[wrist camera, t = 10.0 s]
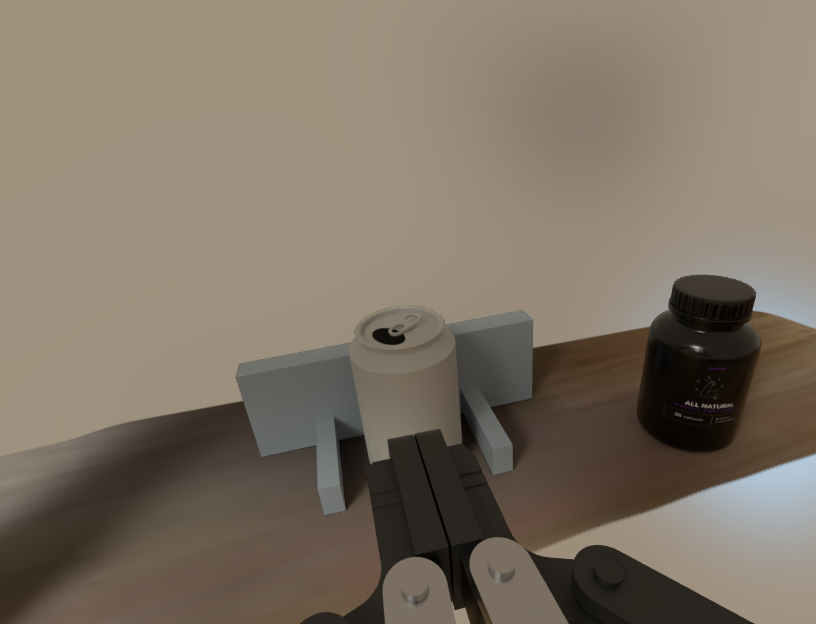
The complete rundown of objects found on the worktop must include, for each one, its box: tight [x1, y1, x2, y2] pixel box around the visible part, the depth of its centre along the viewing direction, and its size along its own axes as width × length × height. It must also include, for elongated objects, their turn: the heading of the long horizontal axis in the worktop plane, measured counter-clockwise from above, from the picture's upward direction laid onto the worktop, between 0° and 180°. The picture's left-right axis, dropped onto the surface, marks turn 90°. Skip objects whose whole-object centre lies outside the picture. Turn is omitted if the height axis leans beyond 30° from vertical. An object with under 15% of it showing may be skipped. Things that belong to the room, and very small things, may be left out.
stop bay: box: [236, 310, 533, 515], centre depth 36 cm, size 24×10×8 cm, turn 102°
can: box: [349, 305, 462, 465], centre depth 34 cm, size 8×8×12 cm
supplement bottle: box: [637, 275, 761, 452], centre depth 34 cm, size 7×7×12 cm
